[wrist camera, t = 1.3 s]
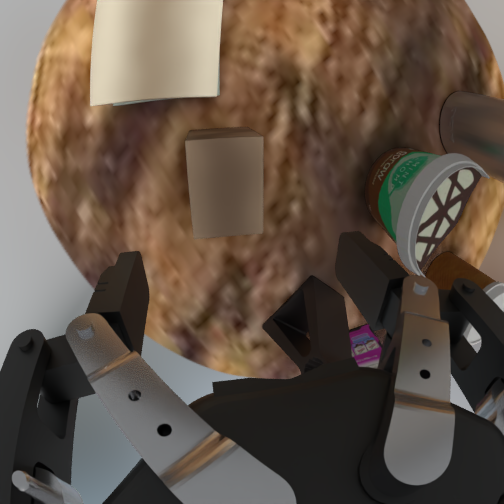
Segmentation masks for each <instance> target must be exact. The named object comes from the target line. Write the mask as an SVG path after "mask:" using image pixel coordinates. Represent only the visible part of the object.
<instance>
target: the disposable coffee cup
mask: <svg viewBox="0 0 504 504" xmlns="http://www.w3.org/2000/svg"><path fill="white" fill-rule="evenodd" d="M426 278H428V279H429V280H431V281H432V282H434V284H435V285H436V286H437V288H438V289H446V290H450V289H451V287H452V284H453V282H454V280H455V279H457V278H465V279H468V280H471V281H473V282H474V283H476V284H477V285H478V286H479V287H480V288H481V289H482V290H483V291H484V292H485V293H486V294H487V295H488V296H489V297H490V298H491V299H492V300H493V301H494V302H495V303H496V304H497V305H498V306H499V308H500V309H501V310H502V311H503V312H504V283H501V282H496V281H495V280H493V279H491V278H490V277H489V276H487V275H485V274H484V273H482V272H481V271H479V270H478V269H476V268H475V267H473V266H472V265H470V264H468V263H467V262H465V261H464V260H462V259H460V258H459V257H457V256H456V255H454V254H452V253H451V252H445V253H442V254H440V255H439V256H438V257H437V258H436V259H435V260H434V261H433V262H432V263H431V265H430V266H429V268H428V270H427V273H426ZM463 335H464V337H465V338H466V339H467V341H468V342H469V343H470V345H475V344H477V343H479V342H480V341H481V337H480V335H479V334H478V332H477V331H476V330H475V329H474V328H473V326H472V325H471V324H470V323H469V325H468V327H467V329H466V331H465V333H464V334H463Z"/></svg>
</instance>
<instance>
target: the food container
mask: <svg viewBox="0 0 504 504" xmlns="http://www.w3.org/2000/svg"><path fill="white" fill-rule="evenodd" d="M481 176H483V177H486V178H489V176H488V175H487V173H485V171H484V170H483V169H482V168H481V167H480V166H479V165H478V164H477V163H475V162H474V161H473V160H471V159H470V158H468V157H467V156H465V155H463V154H458V153H450V154H446V155H443V156H440V155H436V154H432V153H427V152H423V151H419V150H414V149H410V148H394V149H391V150H389V151H387V152H385V153H383V154H382V155H381V156H380V157H379V158H378V159H377V160H376V161H375V163H374V164H373V165H372V167H371V169H370V171H369V173H368V176H367V179H366V184H365V200H366V205H367V208H368V210H369V212H370V214H371V215H372V216H373V218H374V219H375V220H376V221H377V222H378V223H379V225H380V226H381V227H382V228H383V229H384V230H385V231H386V233H387V234H388V235H389V236H390V237H391V239H392V240H393V241H394V242H395V243H396V244H397V249H398V254H399V256H400V258H401V261H402V262H403V264H404V265H405V266H406V267H407V268H408V269H409V270H410V271H412V272H414V273H415V274H417V275H419V276H420V274H421V275H423V276H424V274H423V273H422V272H421V269H422V267H423V266H424V265H425V264H426V262H427V260H428V259H429V257H430V256H431V254H432V253H433V252H434V251H435V249H436V248H437V246H438V245H439V244H440V243H441V242H442V241H443V240H444V238H445V237H446V236H447V235H448V234H449V233H450V232H451V230H452V229H453V228H454V227H455V225H456V224H457V222H458V220H459V218H460V216H461V214H462V212H463V209H464V207H465V205H466V203H467V201H468V199H469V197H470V195H471V193H472V191H473V190H474V188H475V186H476V184H477V183H478V181H479V179H480V178H481ZM424 277H425V276H424Z"/></svg>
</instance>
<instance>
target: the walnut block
mask: <svg viewBox="0 0 504 504" xmlns="http://www.w3.org/2000/svg"><path fill="white" fill-rule="evenodd" d="M185 147H186V161H187V173H188V185H189V196H190V207H191V217H192V226H193V235H194V239H203V238H214V237H225V236H237V235H249V234H261V233H263V136H262V135H260V134H258V133H257V132H255V131H253V130H252V129H250V128H248V127H234V128H215V129H201V130H190V131H189V133H188V136H187V138H186V140H185Z"/></svg>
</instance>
